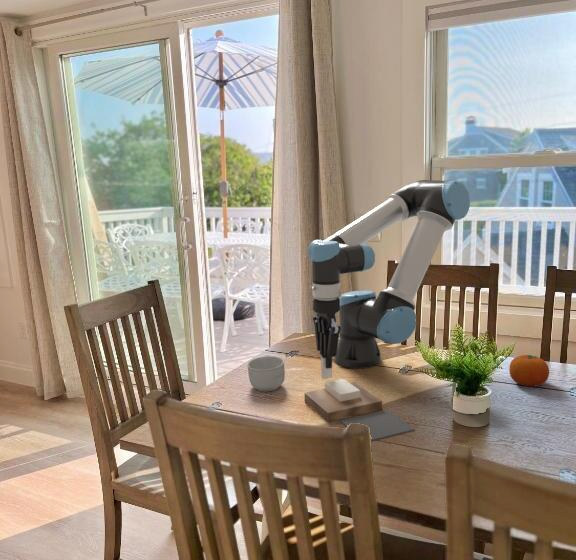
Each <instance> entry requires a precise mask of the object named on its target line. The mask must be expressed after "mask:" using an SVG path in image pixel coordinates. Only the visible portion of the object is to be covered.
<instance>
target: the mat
mask: <svg viewBox="0 0 576 560" xmlns="http://www.w3.org/2000/svg"><path fill="white" fill-rule="evenodd" d="M339 421H340V423H342V424H343V425H344V426H345V427H346V426H347V425H349V424H350V423H360V424H364V425H367V426H368V427H369V428H370V435H371V437H372V439H371V441H370V442H373V441H375V440H376V441H377V440H380V439H383V438H388V437H393V436H397V435H401V434H405V433H408V432H412V431H415V430H416V429H415V428H414V427H413V426H412V425H410V424H409V423H407V422H406V421H404V419H402V418H400V417H399V416H397V415H396V414H394V413H393V412H392V411H391V410H389V409H382V410H379V411H375V412H370V413H366V414H362V415H357V416H353V417H349V418H344V419H340V420H339Z"/></svg>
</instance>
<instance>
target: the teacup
mask: <svg viewBox="0 0 576 560" xmlns="http://www.w3.org/2000/svg"><path fill="white" fill-rule="evenodd" d="M246 367H247V373H248V380H249V383H250V385H251V386H252V387H253V388H254V389H256V390H257V391H259V392H266V393H267V392H272V391H275V390H278V389H279V388H280V386H282V385H283V384H284V382H285V377H286V376H285V375H286V373H285V372H286V371H285V360H284V359H283V358H282V357H279V356H270V354H265V355H264V356H260V357H256V358H253V359H251V360H250V361H248V362H247V363H246Z"/></svg>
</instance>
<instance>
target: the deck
mask: <svg viewBox="0 0 576 560" xmlns="http://www.w3.org/2000/svg"><path fill="white" fill-rule="evenodd" d="M349 383H350V382H349ZM350 384H352V385H353V386H355V387H356V388H357V389H359V390H360V398H355V399H351V400H346V401H341V402H340V401H339V400H338V399H336V398H335V397H334V396H332V395H331V394H330V393H329V392H327V391H326V390H325V388H321V389H316V390H312V391H307V392H304V394H303V395H304V402H305V403H306V404H307V405H308V406H309V407H310V408H311V409H313V410H314V411H315V412H316V413H317V414H318V415H320V417H322V418H323V419H324V420H325V421H326V422H327V423H331V422H335V421H340V420H344V419H348V418H353V417H357V416H361V415H366V414H370V413H374V412H379V411H383V400H381V399H379V397H377V396H376V395H374V394H373V393H371V392H370V391H368V390H367V389H365V387H362V386H361V385H360V384H358V383H357V382H351V383H350Z"/></svg>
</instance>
